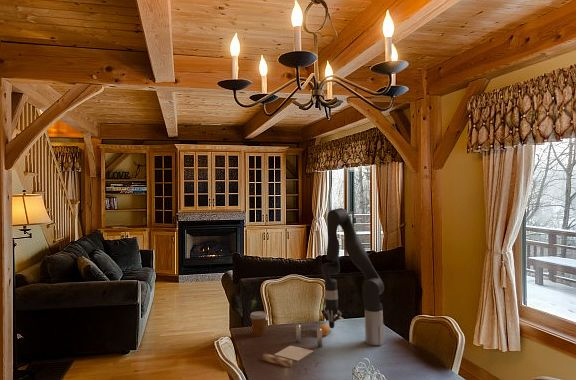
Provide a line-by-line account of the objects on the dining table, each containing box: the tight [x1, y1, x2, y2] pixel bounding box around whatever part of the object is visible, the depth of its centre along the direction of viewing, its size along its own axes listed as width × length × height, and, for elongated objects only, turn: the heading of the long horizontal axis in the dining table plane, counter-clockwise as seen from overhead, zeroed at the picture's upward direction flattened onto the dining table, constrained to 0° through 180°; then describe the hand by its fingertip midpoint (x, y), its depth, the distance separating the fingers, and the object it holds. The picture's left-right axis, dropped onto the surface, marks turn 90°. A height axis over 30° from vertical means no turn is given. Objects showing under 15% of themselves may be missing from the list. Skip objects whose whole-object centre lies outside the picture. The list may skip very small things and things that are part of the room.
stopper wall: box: [262, 353, 294, 368], centre depth 191 cm, size 16×2×2 cm, turn 55°
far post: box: [295, 323, 302, 344], centre depth 217 cm, size 3×3×9 cm
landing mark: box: [273, 345, 314, 362], centre depth 202 cm, size 14×14×1 cm
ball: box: [318, 323, 330, 337], centre depth 227 cm, size 6×6×6 cm
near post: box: [316, 327, 323, 349], centre depth 210 cm, size 3×3×9 cm
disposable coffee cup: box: [249, 310, 268, 337], centre depth 230 cm, size 10×10×12 cm
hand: (331, 327), depth 234 cm, fingers closed
